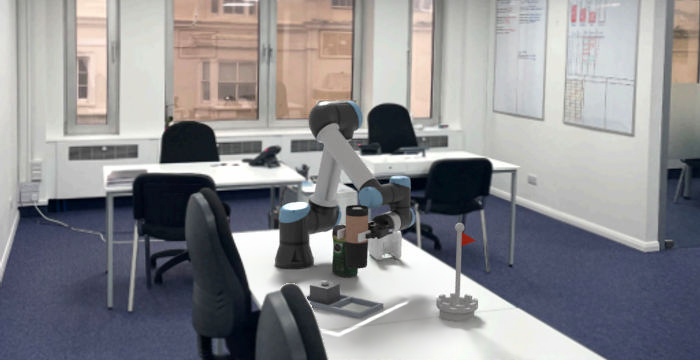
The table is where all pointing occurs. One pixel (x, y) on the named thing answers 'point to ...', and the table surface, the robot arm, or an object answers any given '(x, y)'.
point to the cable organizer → (386, 246)
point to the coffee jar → (340, 256)
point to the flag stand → (458, 289)
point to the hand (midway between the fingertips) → (348, 236)
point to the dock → (349, 306)
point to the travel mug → (356, 236)
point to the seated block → (325, 292)
